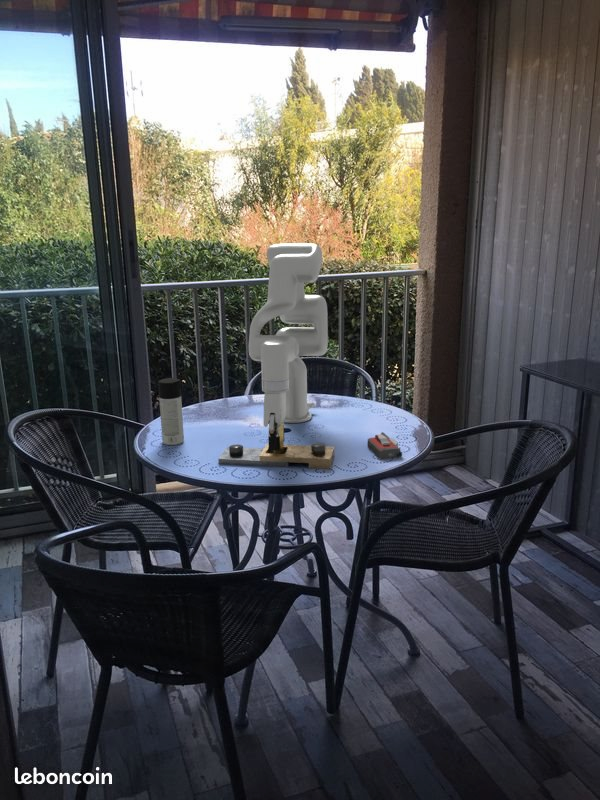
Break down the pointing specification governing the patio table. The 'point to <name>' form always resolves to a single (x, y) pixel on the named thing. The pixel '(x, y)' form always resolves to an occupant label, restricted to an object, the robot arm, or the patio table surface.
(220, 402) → the patio table surface
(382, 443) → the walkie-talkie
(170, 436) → the spray can
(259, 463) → the peg insertion board
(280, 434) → the pin
